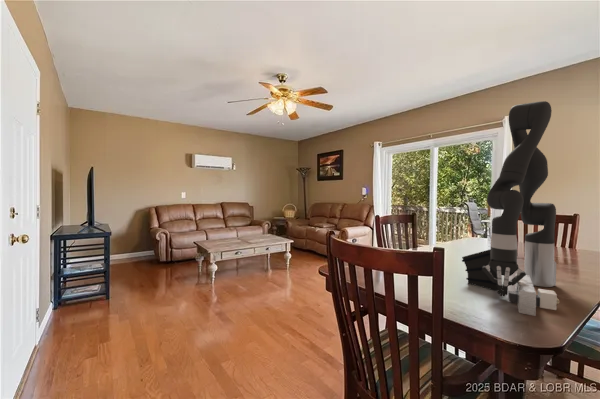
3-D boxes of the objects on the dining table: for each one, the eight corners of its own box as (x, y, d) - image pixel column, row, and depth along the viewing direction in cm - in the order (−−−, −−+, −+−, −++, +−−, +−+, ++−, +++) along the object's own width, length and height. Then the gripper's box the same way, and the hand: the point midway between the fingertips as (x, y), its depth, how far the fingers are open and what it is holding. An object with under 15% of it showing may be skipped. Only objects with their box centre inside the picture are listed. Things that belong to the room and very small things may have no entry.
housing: (518, 312, 86) (519, 290, 86) (515, 292, 104) (515, 273, 104) (535, 316, 84) (536, 293, 84) (529, 294, 102) (529, 275, 102)
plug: (509, 302, 95) (509, 287, 95) (508, 298, 98) (508, 284, 98) (559, 310, 88) (560, 295, 88) (556, 306, 91) (556, 291, 91)
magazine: (506, 289, 103) (487, 250, 108) (472, 294, 113) (456, 258, 118) (511, 287, 105) (492, 248, 110) (476, 292, 115) (461, 257, 120)
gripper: (480, 246, 98) (479, 294, 98) (529, 250, 90) (527, 303, 91) (481, 243, 104) (480, 288, 104) (526, 247, 96) (525, 296, 97)
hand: (502, 295), depth 98 cm, fingers closed
